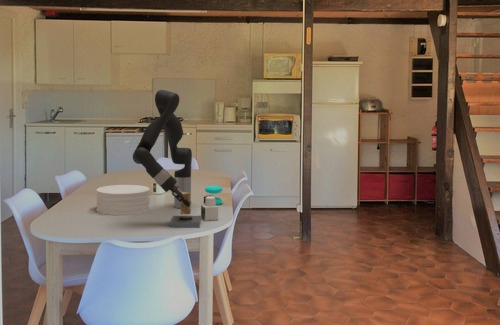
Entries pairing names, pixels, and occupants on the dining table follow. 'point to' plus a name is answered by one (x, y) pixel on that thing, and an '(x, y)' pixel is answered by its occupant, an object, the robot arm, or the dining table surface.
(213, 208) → the medicine bottle
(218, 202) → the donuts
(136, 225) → the dining table surface
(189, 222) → the socket plate
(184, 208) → the square peg
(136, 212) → the plate stack
